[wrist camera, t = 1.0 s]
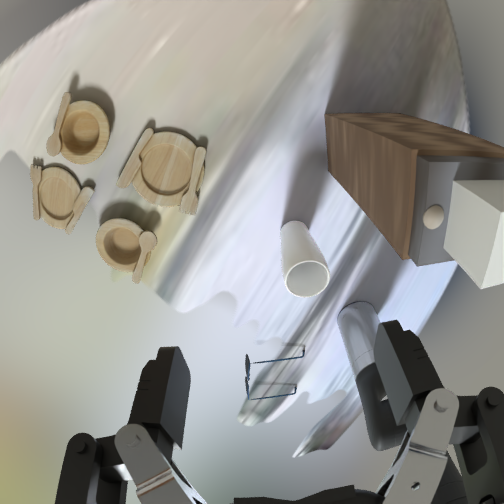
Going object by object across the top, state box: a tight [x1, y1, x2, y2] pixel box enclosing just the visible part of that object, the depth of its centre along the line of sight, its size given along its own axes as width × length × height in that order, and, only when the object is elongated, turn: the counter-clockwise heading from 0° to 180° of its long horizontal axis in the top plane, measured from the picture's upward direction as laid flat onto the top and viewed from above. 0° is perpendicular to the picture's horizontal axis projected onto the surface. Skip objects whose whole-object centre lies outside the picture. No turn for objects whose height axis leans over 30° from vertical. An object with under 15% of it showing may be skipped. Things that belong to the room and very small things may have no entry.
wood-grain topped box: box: [325, 113, 504, 266], centre depth 34 cm, size 14×10×31 cm
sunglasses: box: [245, 350, 305, 400], centre depth 75 cm, size 17×15×5 cm
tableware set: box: [30, 92, 206, 283], centre depth 49 cm, size 35×29×4 cm
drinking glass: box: [280, 221, 330, 297], centre depth 50 cm, size 7×7×15 cm
